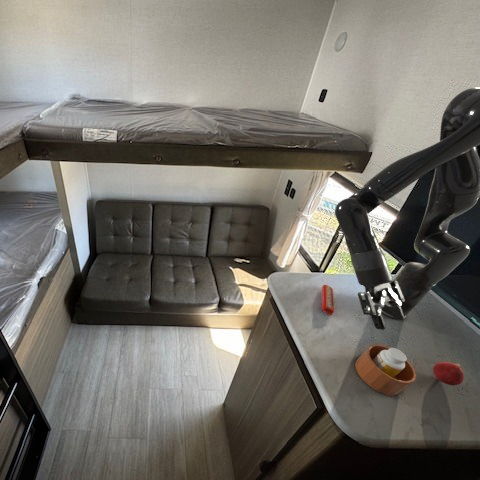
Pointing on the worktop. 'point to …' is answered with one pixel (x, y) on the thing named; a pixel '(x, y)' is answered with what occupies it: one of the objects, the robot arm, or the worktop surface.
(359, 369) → the orange-brown round open container
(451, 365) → the red oval piece
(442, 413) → the worktop surface
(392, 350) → the supplement bottle
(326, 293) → the candy bar
